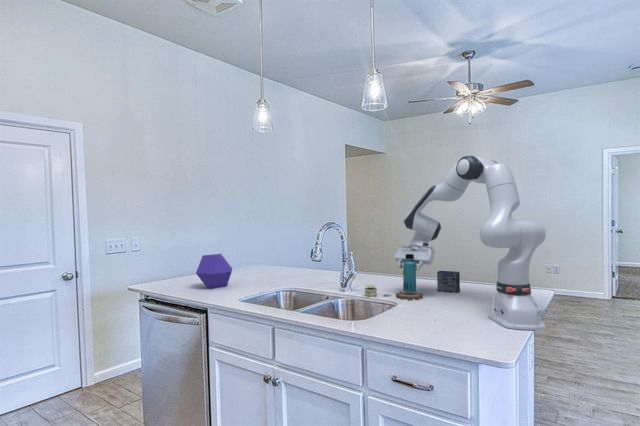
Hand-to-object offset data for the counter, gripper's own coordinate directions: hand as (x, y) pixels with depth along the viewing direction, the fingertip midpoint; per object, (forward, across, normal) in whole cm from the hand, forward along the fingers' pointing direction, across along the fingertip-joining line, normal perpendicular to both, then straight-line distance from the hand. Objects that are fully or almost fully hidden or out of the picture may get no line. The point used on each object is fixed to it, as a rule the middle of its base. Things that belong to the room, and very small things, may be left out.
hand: (408, 268), depth 192 cm
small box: (-8, +8, +29) cm, 32 cm away
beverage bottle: (+8, 0, +10) cm, 13 cm away
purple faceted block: (+44, -101, -23) cm, 112 cm away
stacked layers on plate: (+17, -16, +4) cm, 24 cm away
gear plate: (+10, 0, +11) cm, 14 cm away
